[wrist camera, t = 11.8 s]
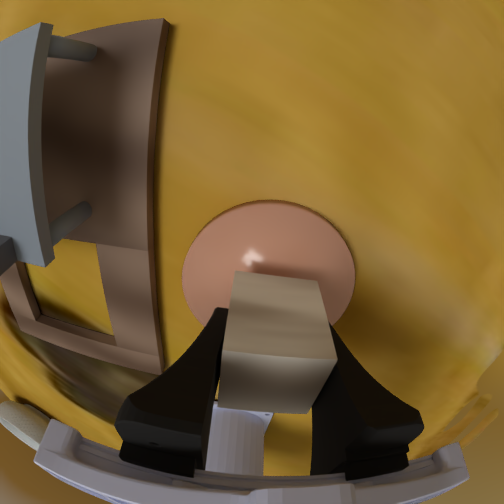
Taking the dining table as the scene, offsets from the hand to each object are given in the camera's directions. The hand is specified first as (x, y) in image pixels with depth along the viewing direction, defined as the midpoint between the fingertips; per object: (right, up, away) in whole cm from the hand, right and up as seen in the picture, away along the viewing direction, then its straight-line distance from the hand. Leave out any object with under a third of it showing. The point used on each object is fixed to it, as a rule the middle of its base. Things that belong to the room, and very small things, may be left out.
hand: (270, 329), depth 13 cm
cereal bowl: (-42, -28, +22) cm, 55 cm away
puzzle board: (-14, +6, +2) cm, 16 cm away
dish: (0, +2, +4) cm, 4 cm away
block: (0, +1, +1) cm, 2 cm away
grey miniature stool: (-14, +10, -2) cm, 17 cm away
